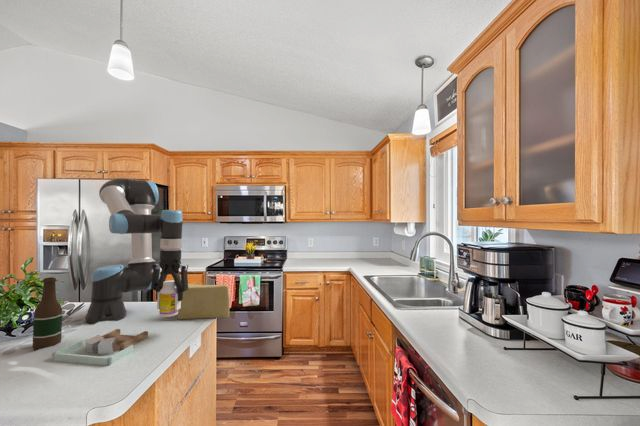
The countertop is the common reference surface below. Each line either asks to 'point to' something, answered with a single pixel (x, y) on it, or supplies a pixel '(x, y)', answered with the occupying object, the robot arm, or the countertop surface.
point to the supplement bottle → (168, 299)
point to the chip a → (93, 343)
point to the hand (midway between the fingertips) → (168, 308)
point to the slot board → (125, 338)
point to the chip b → (107, 346)
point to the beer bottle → (47, 318)
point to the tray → (64, 356)
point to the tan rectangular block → (205, 302)
